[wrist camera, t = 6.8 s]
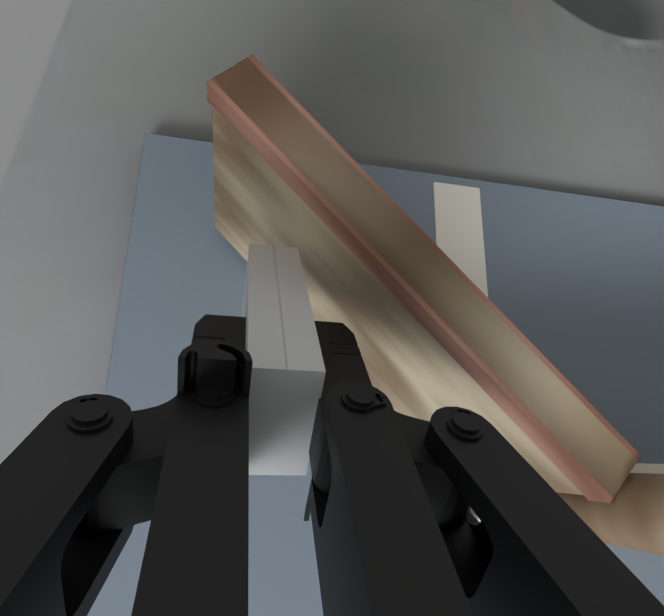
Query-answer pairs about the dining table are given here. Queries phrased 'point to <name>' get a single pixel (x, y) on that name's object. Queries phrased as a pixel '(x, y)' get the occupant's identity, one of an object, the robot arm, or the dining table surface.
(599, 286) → the board
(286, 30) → the dining table surface
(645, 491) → the fence fixed section
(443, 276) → the fence panel
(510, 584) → the robot arm
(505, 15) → the dining table surface
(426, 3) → the dining table surface
